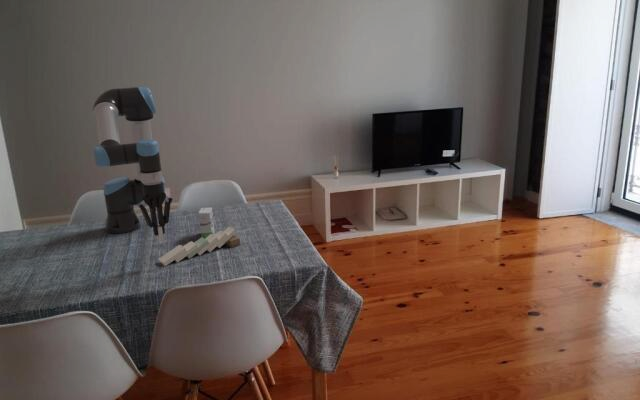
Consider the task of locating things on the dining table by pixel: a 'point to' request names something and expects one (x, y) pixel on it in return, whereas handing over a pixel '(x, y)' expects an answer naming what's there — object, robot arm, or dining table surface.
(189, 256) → the domino
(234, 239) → the end block
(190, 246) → the domino
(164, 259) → the domino
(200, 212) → the ink box
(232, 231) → the domino
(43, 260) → the dining table surface
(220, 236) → the domino
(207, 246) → the domino
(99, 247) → the dining table surface
